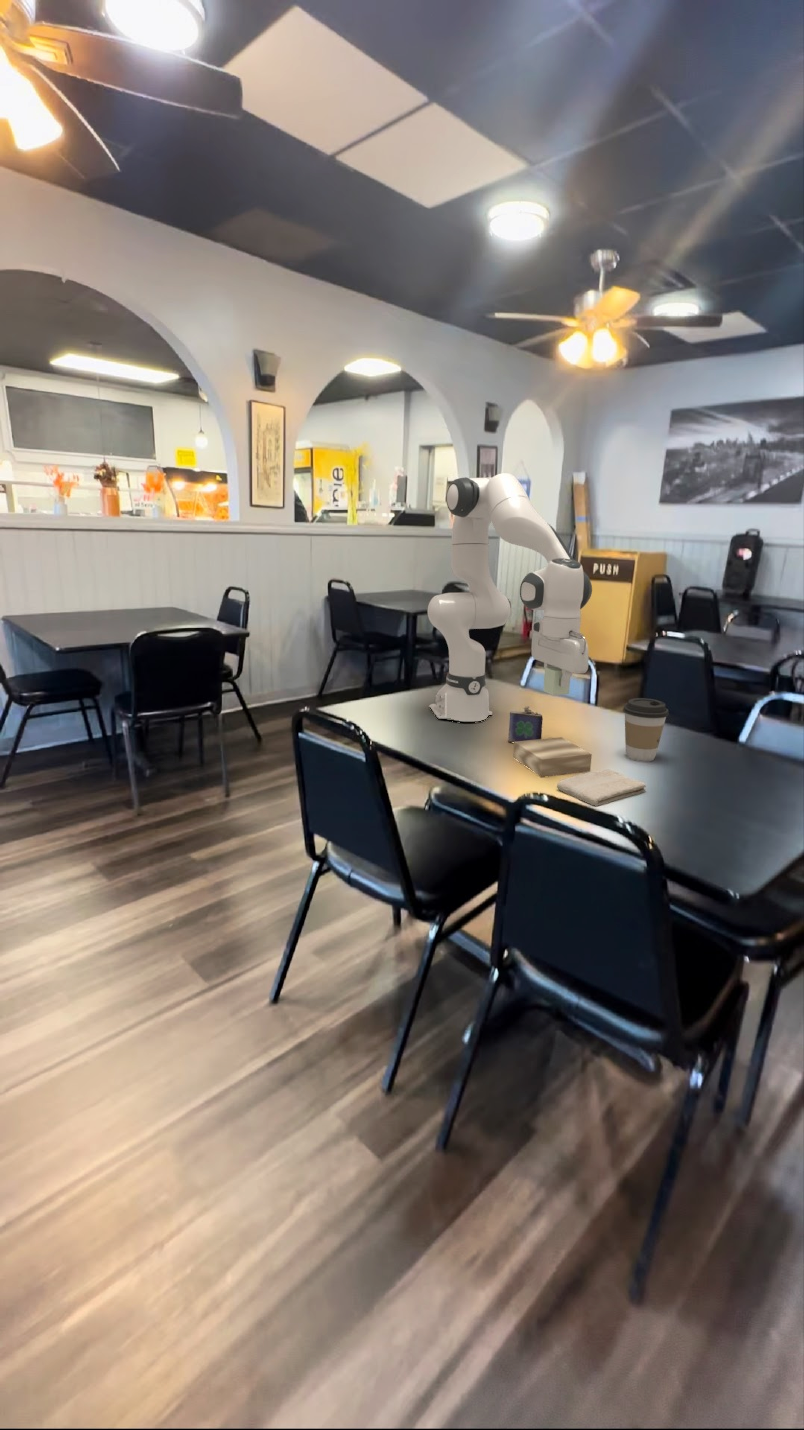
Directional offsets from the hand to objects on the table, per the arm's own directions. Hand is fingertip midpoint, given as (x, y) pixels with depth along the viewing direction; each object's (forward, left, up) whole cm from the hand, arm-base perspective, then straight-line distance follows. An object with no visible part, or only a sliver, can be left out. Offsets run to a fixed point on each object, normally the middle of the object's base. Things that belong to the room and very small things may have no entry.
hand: (556, 684), depth 165 cm
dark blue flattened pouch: (-17, +2, -21) cm, 27 cm away
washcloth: (+19, +2, -22) cm, 29 cm away
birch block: (0, 0, -22) cm, 22 cm away
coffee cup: (+2, +26, -21) cm, 34 cm away
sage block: (0, 0, -2) cm, 2 cm away
